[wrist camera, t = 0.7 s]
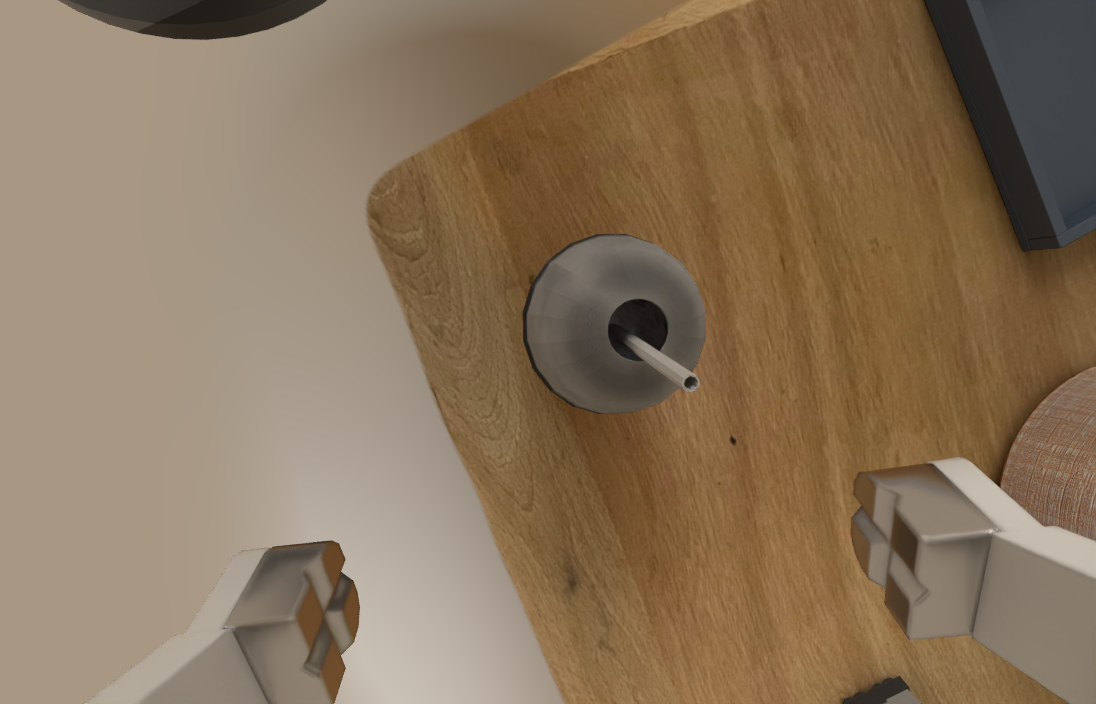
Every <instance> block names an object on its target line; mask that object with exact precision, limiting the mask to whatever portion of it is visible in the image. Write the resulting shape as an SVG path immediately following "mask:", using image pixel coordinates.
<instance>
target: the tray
mask: <svg viewBox="0 0 1096 704" xmlns="http://www.w3.org/2000/svg"><path fill="white" fill-rule="evenodd" d="M925 2H926V5H927V7H928V10H929V12H930V15H931V17H932V20H933V22H934V25H935V28H936V30H937V33H938V35H939V38H940V40H941V43H942V45H943V48H944V51H945V53H946V56H947V58H948V61H949V63H950V66H951V68H952V71H953V73H954V76H955V79H956V81H957V84H958V86H959V89H960V91H961V94H962V96H963V99H964V101H965V104H966V107H967V109H968V112H969V114H970V117H971V119H972V122H973V124H974V127H975V130H976V132H977V135H978V137H979V140H980V142H981V145H982V147H983V150H984V152H985V155H986V158H987V160H988V163H989V165H990V168H991V170H992V173H993V175H994V178H995V180H996V183H997V186H998V188H999V191H1000V193H1001V196H1002V198H1003V201H1004V203H1005V206H1006V208H1007V211H1008V214H1009V216H1010V219H1011V221H1012V224H1013V226H1014V229H1015V231H1016V234H1017V237H1018V239H1019V242H1020V244H1021V247H1022V249H1023V251H1031V250H1043V249H1055V248H1062V247H1064V246H1066V245H1068V244H1069V243H1071V242H1073V241H1075V240H1077V239H1078V238H1080V237H1082V236H1084V235H1086V234H1088V233H1089V232H1091V231H1093V230H1095V229H1096V0H925Z"/></svg>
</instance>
